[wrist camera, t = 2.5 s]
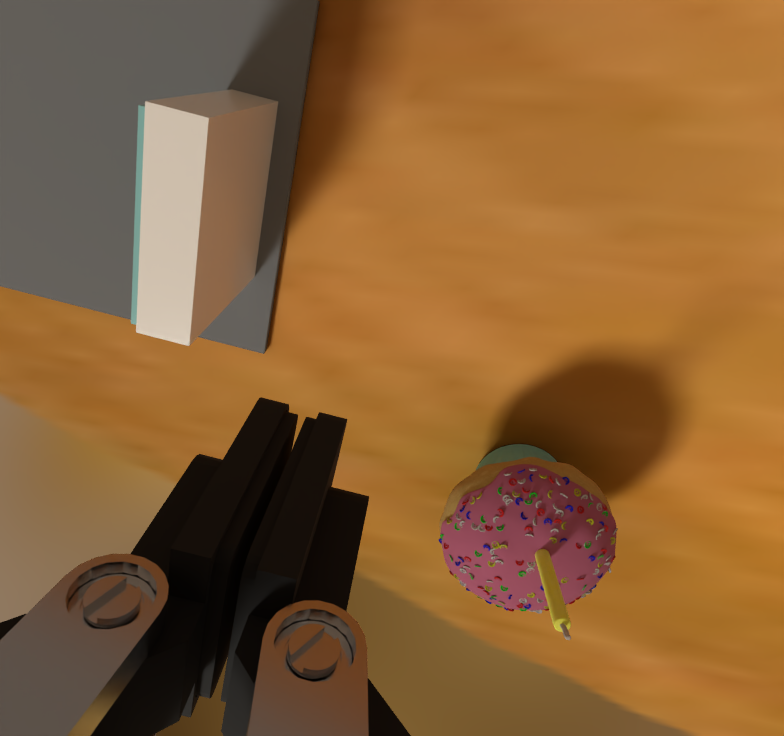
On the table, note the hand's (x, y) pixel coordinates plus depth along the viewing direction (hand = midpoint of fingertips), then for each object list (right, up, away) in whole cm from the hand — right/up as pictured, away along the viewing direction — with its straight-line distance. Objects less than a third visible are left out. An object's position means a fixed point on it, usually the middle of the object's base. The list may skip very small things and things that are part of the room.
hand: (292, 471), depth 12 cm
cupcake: (+9, -4, +22) cm, 25 cm away
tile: (-5, +10, +16) cm, 20 cm away
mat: (-10, +12, +16) cm, 22 cm away
